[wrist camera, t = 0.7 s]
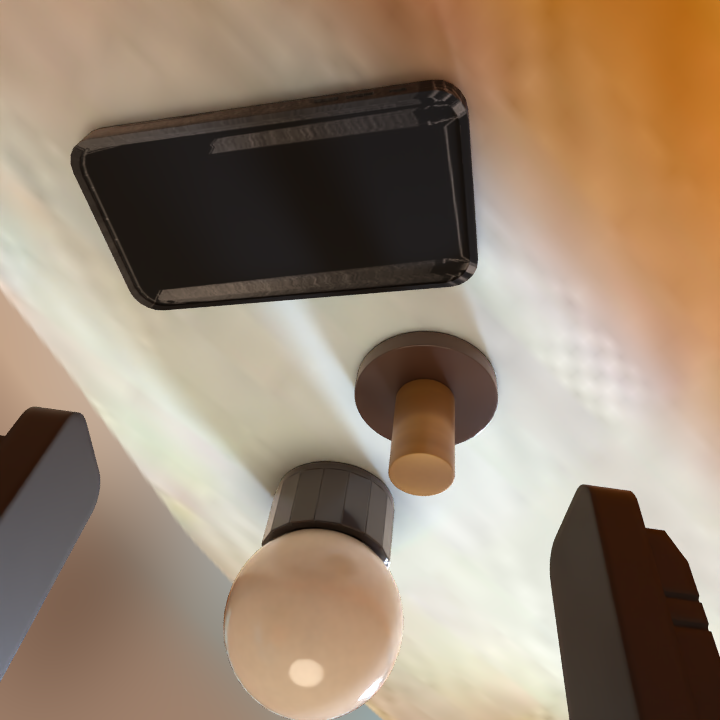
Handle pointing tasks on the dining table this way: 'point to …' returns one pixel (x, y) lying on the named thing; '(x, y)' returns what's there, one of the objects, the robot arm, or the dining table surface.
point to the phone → (288, 198)
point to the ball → (313, 624)
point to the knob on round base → (425, 404)
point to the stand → (334, 504)
